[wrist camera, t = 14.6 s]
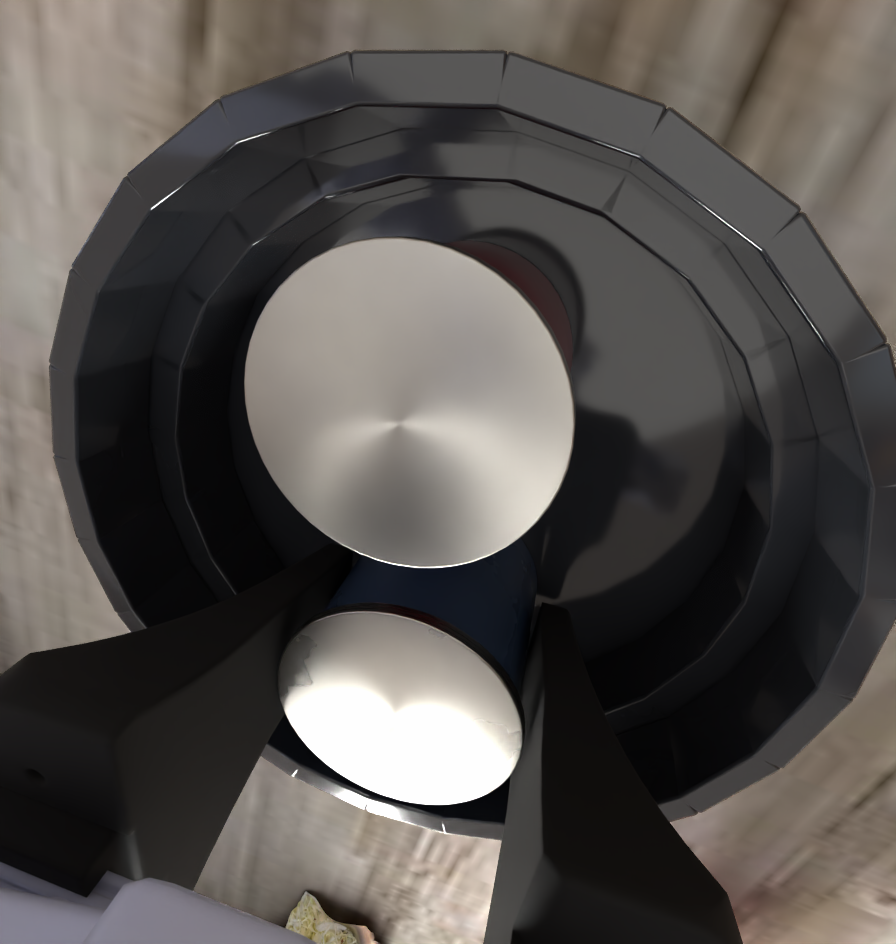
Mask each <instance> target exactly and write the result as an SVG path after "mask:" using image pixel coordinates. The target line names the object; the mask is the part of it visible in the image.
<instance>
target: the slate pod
mask: <svg viewBox="0 0 896 944" xmlns="http://www.w3.org/2000/svg"><path fill="white" fill-rule="evenodd" d="M536 593H537V574H536V569H535V565H534V561H533V559H532V557H531V554H530V552H529V550H528V549H527V547H526V545H525V544H524V542H523V541H522V539H521V538H519V539H517V540H516V541H515V542H513V543H512V544H510V545H509V546H508V547H506V548H504V549H502V550H500V551H498V552H496V553H494V554H492V555H490V556H488V557H485V558H482V559H479V560H477V561H474V562H471V563H466V564H462V565H457V566H451V567H441V568H414V567H407V566H399V565H394V564H390V563H386V562H382V561H378V560H375V559H373V558H370V557H367V556H365V555H361V557H360V558H359V560H358V561H357V563H356V564H355V566H354V567H353V568H352V570H351V571H350V573H349V574H348V576H347V577H346V579H345V580H344V581H343V583H342V584H341V586H340V587H339V589H338V590H337V591H336V593H335V594H334V596H333V597H332V599H331V600H330V602H329V603H328V604H327V606H326V607H325V609H324V610H323V612H321V613H319V614H317V615H316V616H314V617H312V618H311V619H309V620H308V621H307V622H306V623H305V624H303V625H302V626H301V627H300V628H299V629H298V631H297V632H296V633H295V634H294V636H293V637H292V638H291V640H290V641H289V642H288V644H287V645H286V647H285V649H284V651H283V653H282V655H281V659H280V662H279V666H278V675H277V682H278V692H279V696H280V701H281V704H282V706H283V709H284V712H285V714H286V716H287V718H288V720H289V722H290V724H291V725H292V727H293V728H294V730H295V731H296V733H297V734H298V736H299V737H300V738H301V739H302V741H303V742H304V743H305V744H306V745H307V747H308V748H309V749H310V750H311V751H312V752H313V753H314V754H315V755H316V756H317V757H319V758H320V759H321V760H322V761H323V762H325V763H326V764H327V765H328V766H329V767H331V768H332V769H334V770H335V771H336V772H338V773H339V774H341V775H342V776H344V777H346V778H347V779H349V780H351V781H352V782H354V783H356V784H358V785H360V786H362V787H364V788H366V789H369V790H371V791H374V792H376V793H379V794H381V795H384V796H388V797H391V798H394V799H398V800H402V801H407V802H412V803H420V804H434V805H443V804H455V803H461V802H466V801H470V800H473V799H476V798H479V797H482V796H484V795H486V794H488V793H490V792H492V791H493V790H495V789H496V788H498V787H499V786H500V785H502V784H503V783H504V782H505V781H506V780H507V779H508V778H509V777H510V775H511V774H512V772H513V771H514V769H515V768H516V766H517V764H518V762H519V760H520V757H521V754H522V750H523V745H524V738H525V716H524V709H523V706H522V703H521V700H520V694H521V687H522V681H523V675H524V669H525V662H526V656H527V650H528V643H529V637H530V631H531V624H532V618H533V612H534V605H535V599H536Z"/></svg>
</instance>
